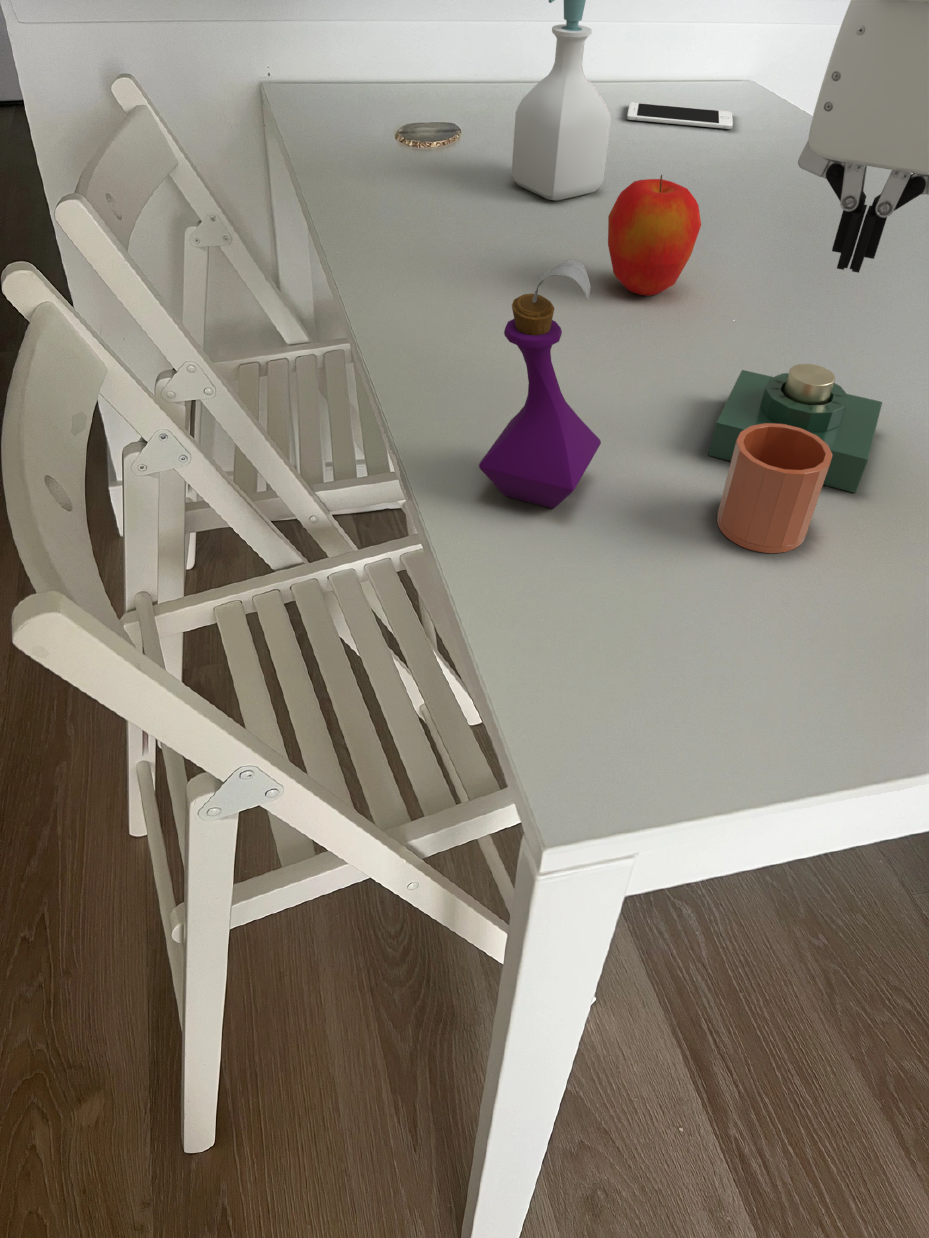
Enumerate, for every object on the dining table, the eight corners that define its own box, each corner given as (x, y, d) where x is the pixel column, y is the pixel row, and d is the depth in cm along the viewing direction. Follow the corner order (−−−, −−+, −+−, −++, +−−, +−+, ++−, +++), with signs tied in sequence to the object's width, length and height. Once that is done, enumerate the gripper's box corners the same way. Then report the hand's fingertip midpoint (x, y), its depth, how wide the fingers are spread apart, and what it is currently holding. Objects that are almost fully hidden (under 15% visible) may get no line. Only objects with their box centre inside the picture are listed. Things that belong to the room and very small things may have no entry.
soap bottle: (504, 184, 129) (517, -21, 114) (560, 172, 133) (580, -27, 118) (551, 207, 123) (572, -5, 108) (608, 194, 128) (635, -12, 113)
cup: (811, 515, 76) (838, 436, 72) (797, 563, 72) (824, 483, 67) (727, 492, 78) (747, 415, 73) (707, 538, 74) (728, 458, 69)
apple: (590, 299, 104) (605, 181, 96) (611, 268, 110) (627, 154, 102) (677, 316, 102) (701, 196, 94) (693, 283, 108) (716, 168, 100)
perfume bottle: (475, 502, 76) (488, 273, 64) (509, 454, 81) (526, 234, 69) (568, 526, 74) (599, 296, 62) (596, 475, 79) (630, 253, 67)
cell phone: (732, 130, 150) (733, 125, 150) (626, 120, 152) (627, 115, 152) (731, 115, 156) (731, 111, 156) (629, 106, 158) (629, 102, 157)
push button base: (870, 434, 86) (889, 382, 82) (855, 493, 79) (875, 439, 75) (733, 401, 89) (746, 350, 86) (707, 455, 82) (720, 402, 79)
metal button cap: (831, 392, 82) (838, 369, 80) (824, 412, 79) (831, 389, 78) (787, 382, 82) (793, 359, 81) (779, 401, 80) (785, 378, 79)
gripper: (1071, -29, 61) (960, 266, 73) (823, -53, 65) (758, 229, 77) (1074, -10, 55) (954, 304, 67) (804, -38, 60) (737, 262, 72)
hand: (850, 264), depth 72 cm, fingers closed
